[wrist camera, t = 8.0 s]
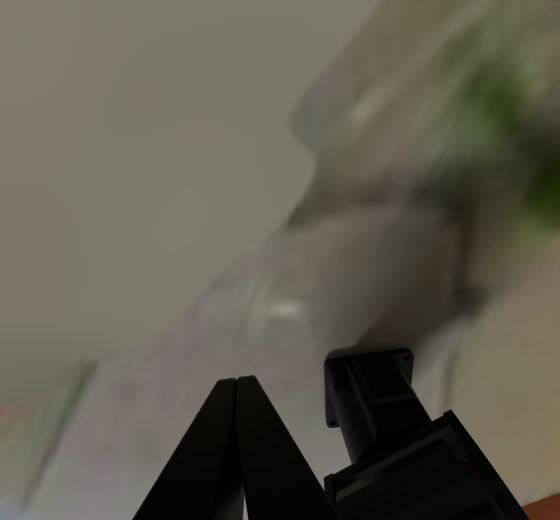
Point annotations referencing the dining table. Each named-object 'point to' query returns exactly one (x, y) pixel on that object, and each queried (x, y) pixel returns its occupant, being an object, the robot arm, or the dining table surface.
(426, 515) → the robot arm
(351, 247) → the dining table surface
